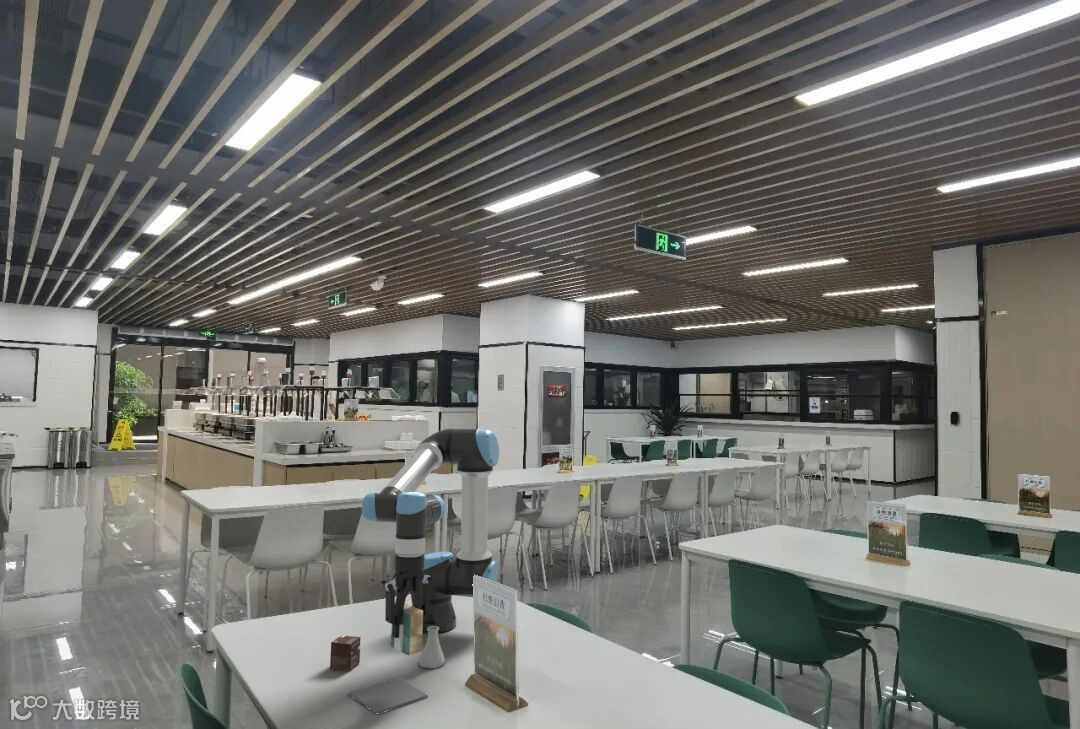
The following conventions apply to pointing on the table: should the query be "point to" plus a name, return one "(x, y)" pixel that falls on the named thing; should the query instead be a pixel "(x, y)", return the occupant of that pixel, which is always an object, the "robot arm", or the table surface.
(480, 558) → the robot arm
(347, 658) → the box
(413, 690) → the mat
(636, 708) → the table surface
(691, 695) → the table surface
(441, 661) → the flask
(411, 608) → the slab
